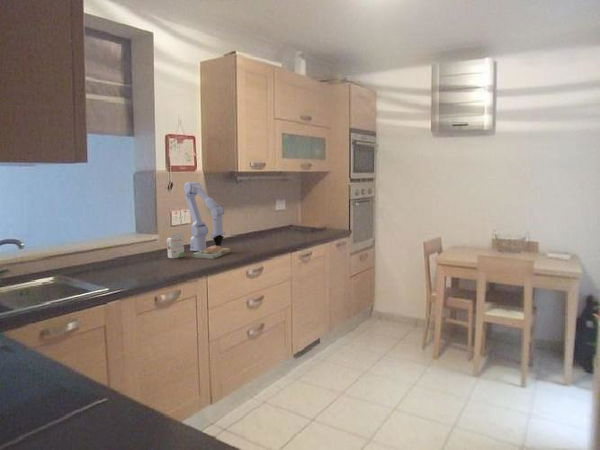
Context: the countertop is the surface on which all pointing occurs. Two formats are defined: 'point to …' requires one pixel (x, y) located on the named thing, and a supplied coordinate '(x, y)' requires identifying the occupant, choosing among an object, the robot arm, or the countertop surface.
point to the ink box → (175, 245)
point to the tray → (206, 255)
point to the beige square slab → (222, 250)
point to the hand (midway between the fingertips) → (218, 247)
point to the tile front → (211, 249)
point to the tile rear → (217, 247)
